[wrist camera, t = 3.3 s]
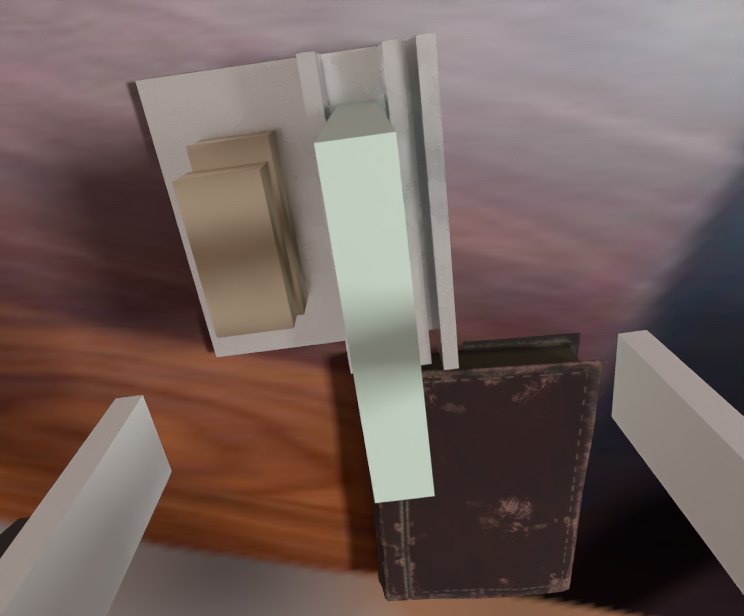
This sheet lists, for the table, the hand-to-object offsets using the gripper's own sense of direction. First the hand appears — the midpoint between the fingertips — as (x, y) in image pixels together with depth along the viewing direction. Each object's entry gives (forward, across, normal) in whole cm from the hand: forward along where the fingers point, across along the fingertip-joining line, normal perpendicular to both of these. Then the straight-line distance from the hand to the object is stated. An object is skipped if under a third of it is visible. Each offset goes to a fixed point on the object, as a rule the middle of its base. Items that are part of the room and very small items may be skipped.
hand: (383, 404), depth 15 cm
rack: (+25, +4, 0) cm, 25 cm away
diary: (+25, -6, +25) cm, 36 cm away
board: (+24, 0, 0) cm, 24 cm away
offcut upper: (+21, +8, +1) cm, 22 cm away
